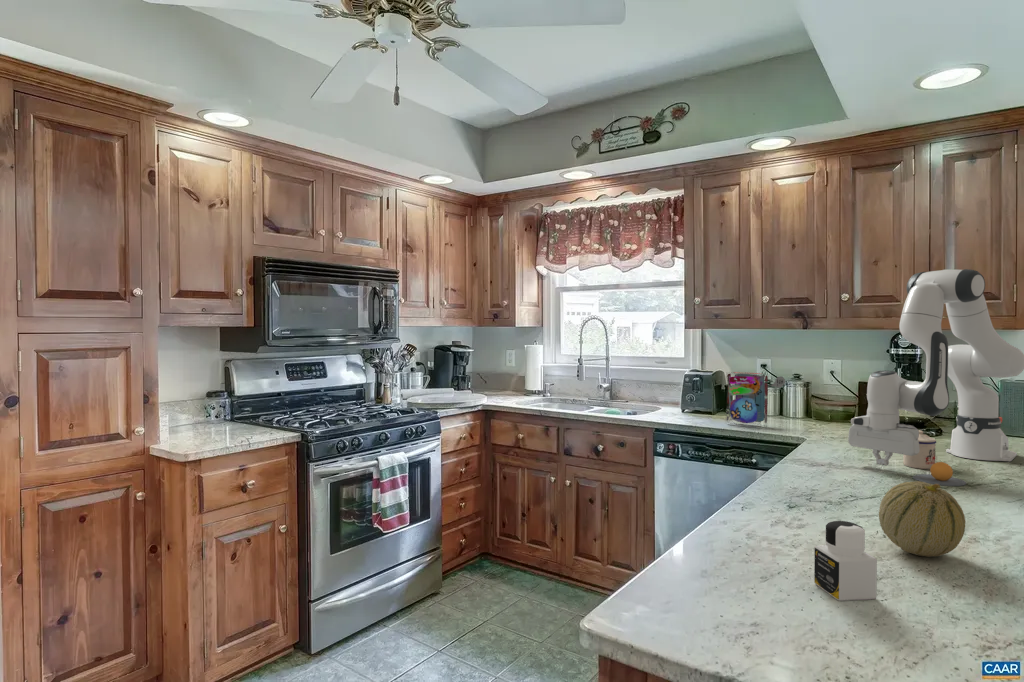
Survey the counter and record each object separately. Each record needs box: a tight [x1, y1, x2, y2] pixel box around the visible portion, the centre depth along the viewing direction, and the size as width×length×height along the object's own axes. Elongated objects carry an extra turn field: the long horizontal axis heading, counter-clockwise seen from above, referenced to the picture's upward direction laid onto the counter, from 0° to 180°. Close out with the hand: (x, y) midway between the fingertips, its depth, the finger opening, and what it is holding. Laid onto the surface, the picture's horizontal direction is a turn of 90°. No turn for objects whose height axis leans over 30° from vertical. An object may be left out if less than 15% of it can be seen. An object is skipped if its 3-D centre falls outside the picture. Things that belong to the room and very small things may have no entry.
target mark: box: [912, 473, 967, 487], centre depth 179 cm, size 13×13×1 cm
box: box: [725, 371, 786, 429], centre depth 272 cm, size 25×6×24 cm, turn 50°
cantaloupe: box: [878, 480, 967, 558], centre depth 123 cm, size 15×15×15 cm
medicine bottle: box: [813, 520, 878, 602], centre depth 106 cm, size 7×7×12 cm
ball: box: [929, 461, 954, 481], centre depth 179 cm, size 6×6×6 cm
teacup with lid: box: [902, 429, 937, 470], centre depth 198 cm, size 12×9×12 cm
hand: (882, 464), depth 193 cm, fingers closed
